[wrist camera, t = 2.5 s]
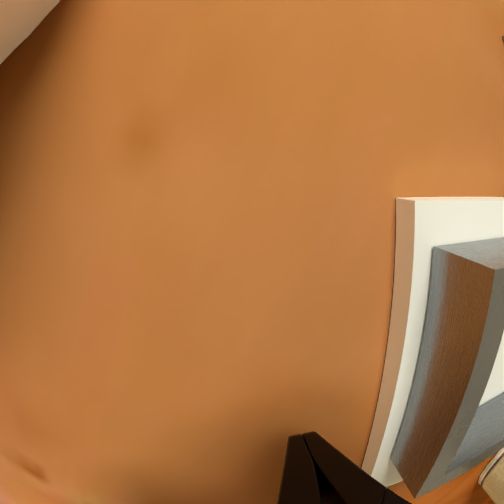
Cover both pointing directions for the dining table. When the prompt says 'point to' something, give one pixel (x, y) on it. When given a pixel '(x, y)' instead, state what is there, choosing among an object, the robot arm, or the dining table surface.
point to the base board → (422, 308)
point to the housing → (455, 369)
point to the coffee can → (494, 478)
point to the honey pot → (20, 21)
